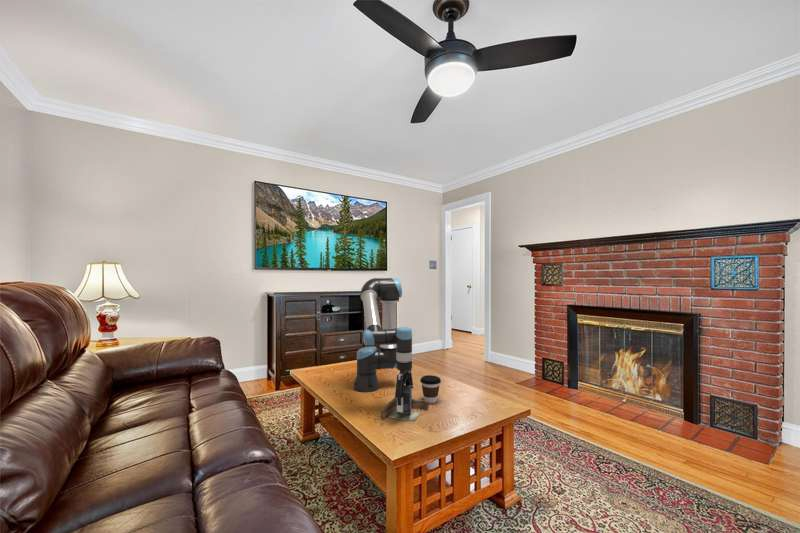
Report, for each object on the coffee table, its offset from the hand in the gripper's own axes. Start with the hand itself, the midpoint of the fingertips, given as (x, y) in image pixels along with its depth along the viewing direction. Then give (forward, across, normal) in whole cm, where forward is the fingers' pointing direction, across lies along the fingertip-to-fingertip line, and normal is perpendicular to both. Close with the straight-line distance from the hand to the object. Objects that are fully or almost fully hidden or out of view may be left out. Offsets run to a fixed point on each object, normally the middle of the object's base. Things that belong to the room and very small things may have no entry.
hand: (404, 406), depth 156 cm
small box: (+2, 0, 0) cm, 2 cm away
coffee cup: (+4, +22, -7) cm, 23 cm away
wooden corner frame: (+4, +2, 0) cm, 4 cm away
